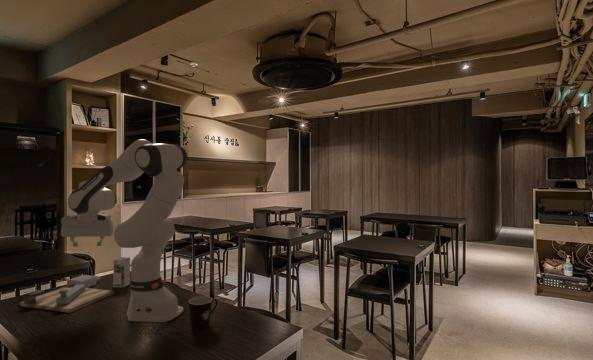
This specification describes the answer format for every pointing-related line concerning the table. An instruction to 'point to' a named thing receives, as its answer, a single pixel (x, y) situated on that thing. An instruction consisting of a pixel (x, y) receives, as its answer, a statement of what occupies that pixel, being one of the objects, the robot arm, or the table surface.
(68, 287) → the pintle plate
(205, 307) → the coffee mug
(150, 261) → the robot arm
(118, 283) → the syrup box
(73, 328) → the table surface
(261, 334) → the table surface
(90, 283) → the charger
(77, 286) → the link
